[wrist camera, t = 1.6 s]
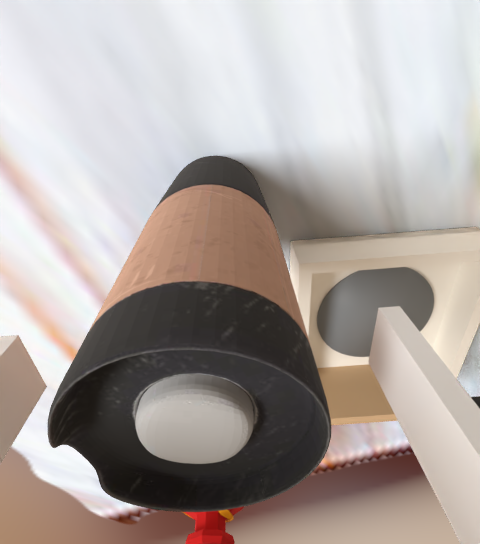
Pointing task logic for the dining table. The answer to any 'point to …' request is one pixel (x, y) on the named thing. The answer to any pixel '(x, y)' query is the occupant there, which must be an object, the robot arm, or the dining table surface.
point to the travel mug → (198, 359)
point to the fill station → (383, 305)
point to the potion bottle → (211, 527)
